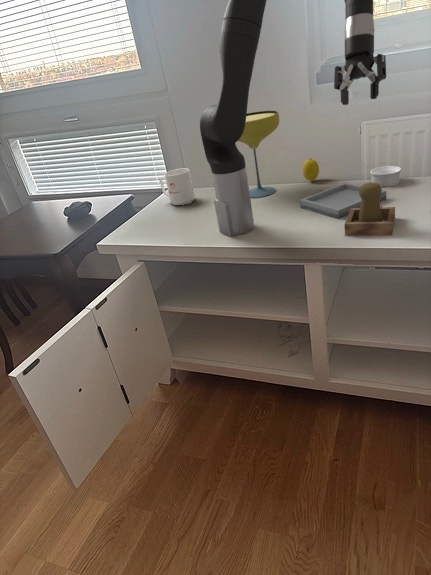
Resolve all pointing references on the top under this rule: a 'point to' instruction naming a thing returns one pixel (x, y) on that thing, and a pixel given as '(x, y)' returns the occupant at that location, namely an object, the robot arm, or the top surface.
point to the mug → (178, 186)
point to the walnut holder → (370, 223)
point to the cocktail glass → (253, 134)
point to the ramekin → (386, 175)
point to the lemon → (310, 169)
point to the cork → (370, 203)
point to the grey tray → (336, 200)
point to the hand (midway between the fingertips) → (359, 101)
